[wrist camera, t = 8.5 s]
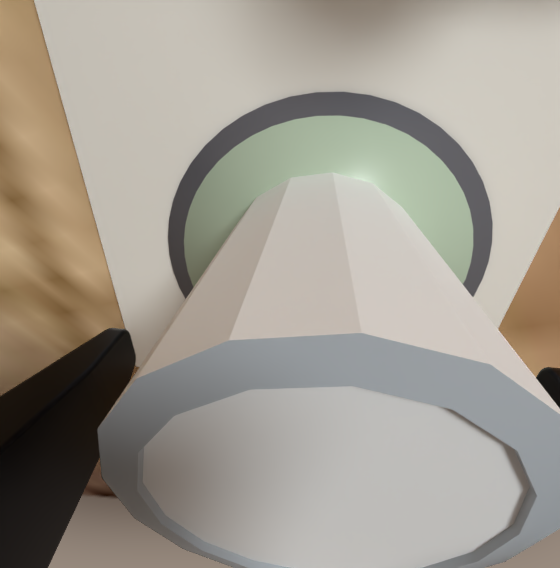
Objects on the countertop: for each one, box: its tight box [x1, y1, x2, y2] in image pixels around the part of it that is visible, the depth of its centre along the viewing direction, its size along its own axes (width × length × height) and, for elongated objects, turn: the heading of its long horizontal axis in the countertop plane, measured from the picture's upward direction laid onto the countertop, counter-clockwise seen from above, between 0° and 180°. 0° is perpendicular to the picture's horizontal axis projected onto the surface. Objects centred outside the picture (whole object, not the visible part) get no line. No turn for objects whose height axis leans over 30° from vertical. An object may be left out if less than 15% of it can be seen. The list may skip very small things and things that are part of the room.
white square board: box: [34, 0, 560, 367], centre depth 11 cm, size 13×13×1 cm
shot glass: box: [97, 172, 560, 568], centre depth 8 cm, size 7×7×7 cm
